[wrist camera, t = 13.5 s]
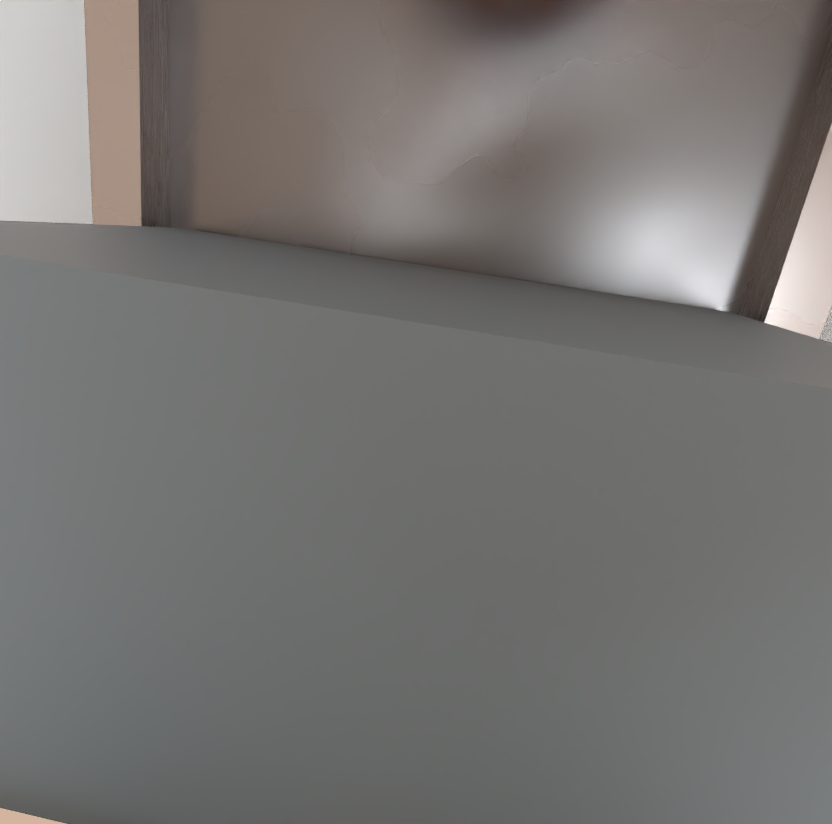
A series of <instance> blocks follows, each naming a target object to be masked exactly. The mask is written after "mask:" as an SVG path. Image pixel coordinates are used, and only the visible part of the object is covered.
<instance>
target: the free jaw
mask: <svg viewBox="0 0 832 824" xmlns="http://www.w3.org/2000/svg"><path fill="white" fill-rule="evenodd" d="M0 808H4V809H8V810H12V811H16V812H20V813H25V814H29V815H33V816H37V817H42V818H46V819H50V820H54V821H58V822H62V823H67V824H832V343H831V342H827V341H824V340H821V339H817V338H814V337H811V336H807V335H804V334H801V333H797V332H794V331H791V330H787V329H784V328H781V327H777V326H774V325H771V324H767V323H764V322H761V321H757V320H754V319H751V318H747V317H744V316H741V315H737V314H734V313H731V312H726V311H719V310H712V309H706V308H699V307H693V306H686V305H680V304H673V303H667V302H660V301H654V300H647V299H641V298H634V297H628V296H621V295H614V294H608V293H601V292H595V291H588V290H582V289H575V288H569V287H562V286H556V285H549V284H543V283H536V282H530V281H523V280H516V279H510V278H503V277H497V276H490V275H484V274H477V273H471V272H464V271H458V270H451V269H445V268H438V267H432V266H425V265H419V264H412V263H405V262H399V261H392V260H386V259H379V258H373V257H366V256H360V255H353V254H347V253H340V252H334V251H327V250H321V249H314V248H307V247H301V246H294V245H288V244H281V243H275V242H268V241H262V240H255V239H249V238H242V237H236V236H229V235H223V234H216V233H209V232H203V231H196V230H190V229H183V228H177V227H151V226H124V225H98V224H72V223H46V222H19V221H0Z"/></svg>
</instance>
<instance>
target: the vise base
mask: <svg viewBox="0 0 832 824" xmlns="http://www.w3.org/2000/svg"><path fill="white" fill-rule="evenodd" d="M84 7H85V33H86V58H87V84H88V109H89V135H90V161H91V186H92V212H93V224H98V225H124V226H151V227H177V228H183V229H190V230H196V231H203V232H209V233H216V234H223V235H229V236H236V237H242V238H249V239H255V240H262V241H268V242H275V243H281V244H288V245H294V246H301V247H307V248H314V249H321V250H327V251H334V252H340V253H347V254H353V255H360V256H366V257H373V258H379V259H386V260H392V261H399V262H405V263H412V264H419V265H425V266H432V267H438V268H445V269H451V270H458V271H464V272H471V273H477V274H484V275H490V276H497V277H503V278H510V279H516V280H523V281H530V282H536V283H543V284H549V285H556V286H562V287H569V288H575V289H582V290H588V291H595V292H601V293H608V294H614V295H621V296H628V297H634V298H641V299H647V300H654V301H660V302H667V303H673V304H680V305H686V306H693V307H699V308H706V309H712V310H719V311H726V312H731V313H734V314H737V315H741V316H744V317H747V318H751V319H754V320H757V321H761V322H764V323H767V324H771V325H774V326H777V327H781V328H784V329H787V330H791V331H794V332H797V333H801V334H804V335H807V336H811V337H814V338H817V339H820V336H821V333H822V331H823V328H824V325H825V323H826V320H827V317H828V315H829V312H830V309H831V307H832V0H84Z"/></svg>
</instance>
